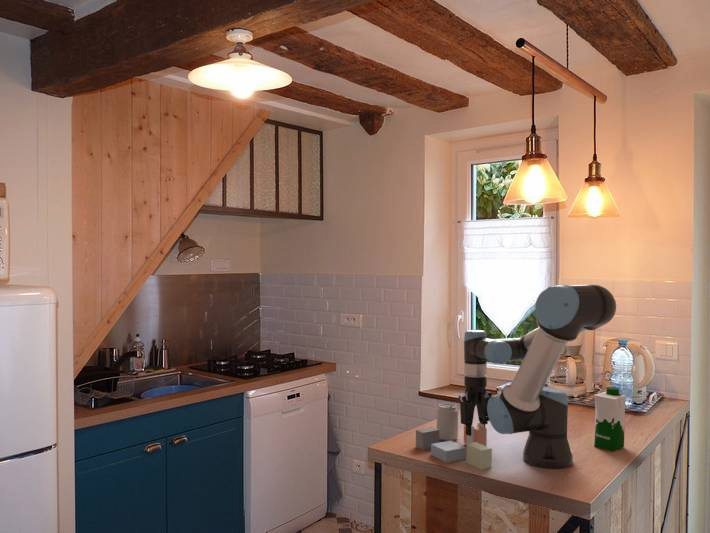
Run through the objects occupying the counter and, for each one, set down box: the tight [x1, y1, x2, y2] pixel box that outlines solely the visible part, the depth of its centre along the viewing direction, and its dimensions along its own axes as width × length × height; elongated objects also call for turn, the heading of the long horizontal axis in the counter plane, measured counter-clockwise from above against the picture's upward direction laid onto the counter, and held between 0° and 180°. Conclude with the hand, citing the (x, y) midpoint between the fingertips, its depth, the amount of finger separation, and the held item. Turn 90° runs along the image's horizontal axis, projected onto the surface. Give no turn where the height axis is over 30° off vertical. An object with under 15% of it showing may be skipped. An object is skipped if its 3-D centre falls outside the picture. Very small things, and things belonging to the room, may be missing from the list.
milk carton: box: [593, 386, 627, 453], centre depth 206 cm, size 9×9×20 cm
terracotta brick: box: [463, 423, 488, 447], centre depth 207 cm, size 7×4×6 cm, turn 32°
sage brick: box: [465, 442, 493, 471], centre depth 188 cm, size 7×4×6 cm, turn 31°
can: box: [436, 403, 459, 442], centre depth 215 cm, size 8×8×12 cm
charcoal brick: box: [415, 426, 440, 451], centre depth 205 cm, size 7×4×6 cm, turn 121°
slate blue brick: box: [430, 440, 467, 463], centre depth 196 cm, size 8×8×4 cm
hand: (475, 443), depth 207 cm, fingers closed on terracotta brick, 4 cm apart
